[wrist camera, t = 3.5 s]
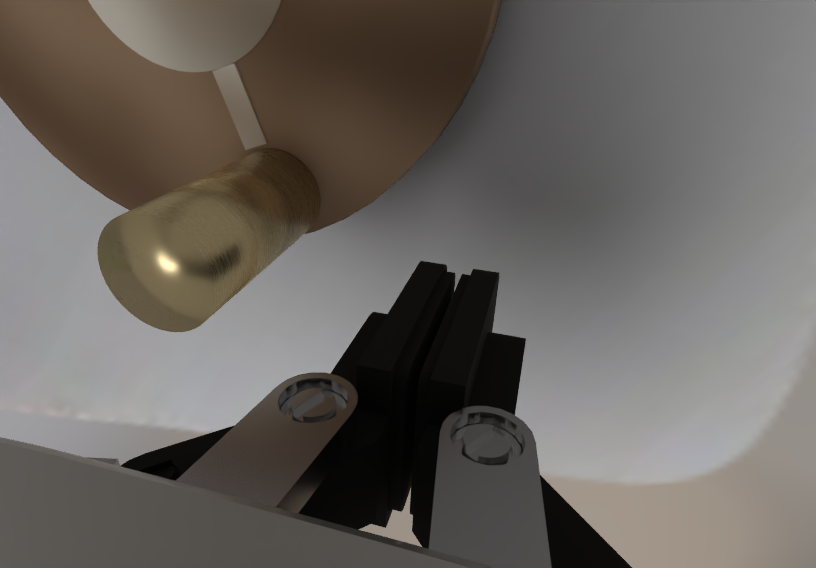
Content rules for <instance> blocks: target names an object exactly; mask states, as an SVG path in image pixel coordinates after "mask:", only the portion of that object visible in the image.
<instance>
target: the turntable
mask: <svg viewBox="0 0 816 568" xmlns="http://www.w3.org/2000/svg"><path fill="white" fill-rule="evenodd" d="M501 1H502V0H0V97H1V98H2V99H3V101H4V102H5V103H6V104H7V105H8V107H9V108H10V109H11V110H12V111H13V113H14V114H15V115H16V116H17V117H18V119H19V120H20V121H21V122H22V124H23V125H24V126H25V127H26V128H27V129H28V130H29V131H30V132H31V133H32V134H33V135H34V136H35V137H36V139H37V140H38V141H39V142H40V143H41V144H42V145H43V146H44V147H45V148H46V149H47V150H48V151H49V152H50V153H51V154H52V155H53V156H54V157H56V158H57V159H58V160H59V161H60V162H61V163H63V164H64V165H65V166H66V167H67V168H68V169H70V170H71V171H72V172H73V173H74V174H75V175H77V176H78V177H79V178H80V179H82V180H83V181H85V182H86V183H87V184H89V185H90V186H92V187H93V188H94V189H96V190H97V191H99V192H100V193H102V194H103V195H104V196H106V197H107V198H109V199H111V200H112V201H114V202H116V203H118V204H119V205H121V206H123V207H125V208H127V209H128V210H130V211H128V212H126V213H124V214H122V215H120V216H118V217H116V218H114V219H113V220H111V221H110V222H109V223H108V224H107V225H106V226H105V227H104V229H103V231H102V233H101V235H100V238H99V242H98V261H99V265H100V269H101V272H102V275H103V277H104V279H105V281H106V284H107V285H108V287H109V289H110V290H111V292H112V293H113V295H114V296H115V297H116V299H117V300H118V301H119V302H120V303H121V304H122V305H123V306H124V307H125V308H126V309H127V310H128V311H129V312H130V313H131V314H133V315H134V316H135V317H137V318H138V319H140V320H141V321H143V322H145V323H146V324H148V325H150V326H153V327H155V328H158V329H161V330H165V331H170V332H185V331H189V330H192V329H195V328H197V327H198V326H200V325H201V324H202V323H204V322H205V321H206V320H207V319H208V318H209V317H210V316H212V315H213V314H214V313H215V312H216V311H217V310H218V309H220V308H221V307H222V306H223V305H224V304H225V303H226V302H228V301H229V300H230V299H231V298H232V297H233V296H234V295H235V294H237V293H238V292H239V291H240V290H241V289H242V288H243V287H245V286H246V285H247V284H248V283H249V282H250V281H251V280H253V279H254V278H255V277H256V276H257V275H258V274H259V273H260V272H262V271H263V270H264V269H265V268H266V267H267V266H268V265H270V264H271V263H272V262H273V261H274V260H275V259H276V258H277V257H279V256H280V255H281V254H282V253H283V252H284V251H285V250H287V249H288V248H289V247H290V246H291V245H292V244H293V243H295V242H296V241H297V240H298V239H299V238H300V237H301V236H302V235H304V234H306V233H310V232H314V231H317V230H319V229H322V228H324V227H326V226H329V225H331V224H334V223H336V222H338V221H341V220H343V219H345V218H347V217H348V216H350V215H352V214H353V213H355V212H357V211H358V210H360V209H362V208H363V207H365V206H367V205H368V204H370V203H372V202H373V201H374V200H375V199H377V198H378V197H379V196H380V195H381V194H383V193H384V192H385V191H386V190H387V189H389V188H390V187H391V186H392V185H394V184H395V183H396V182H397V181H398V180H400V179H401V177H402V176H403V175H404V174H405V173H406V172H407V171H408V170H409V169H410V168H411V167H412V166H413V165H414V164H415V163H416V162H417V161H418V159H419V158H420V157H421V156H422V155H423V154H424V153H425V152H426V151H427V150H428V148H429V147H430V146H431V145H432V144H433V143H434V142H435V141H436V140H437V139H438V137H439V136H440V135H441V133H442V132H443V131H444V129H445V128H446V126H447V125H448V123H449V122H450V120H451V119H452V118H453V116H454V115H455V113H456V112H457V110H458V109H459V107H460V106H461V104H462V102H463V100H464V98H465V96H466V95H467V93H468V91H469V89H470V87H471V85H472V83H473V81H474V79H475V77H476V75H477V73H478V71H479V69H480V67H481V64H482V61H483V59H484V56H485V53H486V51H487V48H488V45H489V42H490V40H491V37H492V34H493V32H494V29H495V26H496V22H497V18H498V13H499V9H500V5H501Z"/></svg>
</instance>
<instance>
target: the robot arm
mask: <svg viewBox="0 0 816 568" xmlns="http://www.w3.org/2000/svg"><path fill="white" fill-rule="evenodd" d="M498 282H499V273H497V272H490V271H484V270H477V269H473V271H472V273H471V275H465V274H462V276H461V278H460V280H459V283H458V285H457V287H456V290H455V292H454V287H455V273H452V272H447V266H446V265H444V264H437V263H430V262H424V261H421V262H420V263H419V264H418V266H417V267H416V269H415V271H414V272H413V274H412V276H411V277H410V279H409V280H408V282H407V284H406V285H405V287H404V289H403V290H402V292H401V293H400V295H399V297H398V298H397V300H396V302H395V303H394V305H393V306H392V308H391V310H390V311H389V313H388V314H383V313H377V312H372V313H371V315H370V316H369V317H368V319H367V320H366V322H365V323H364V325H363V326H362V327H361V329H360V330H359V332H358V333H357V335H356V336H355V338H354V339H353V341H352V342H351V344H350V345H349V347H348V348H347V350H346V351H345V353H344V354H343V356H342V357H341V359H340V360H339V362H338V363H337V365H336V366H335V368H334V369H333V371H332V372H331V374H328V373H307V374H302V375H297V376H295V377H292V378H290V379H287V380H286V381H284V382H283V383H281V384H280V385H278V386H277V387H276V388H275V389H274V390H273V391H272V392H271V393H269V394H268V395H267V396H266V397H265V398H264V399H263V400H262V401H261V402H260V403H259V404H258V405H257V406H255V407H254V408H253V409H252V410H251V411H250V412H249V413H248V414H247V415H246V416H245V417H244V418H243V419H242V420H240V421H239V422H238V423H237V424H236V425H235V426H232V427H228V428H225V429H222V430H219V431H216V432H212V433H209V434H206V435H203V436H200V437H196V438H194V439H190V440H187V441H184V442H180V443H177V444H174V445H171V446H168V447H164V448H161V449H158V450H155V451H152V452H148V453H145V454H143V455H140V456H138V457H136V458H133V459H131V460H129V461H127V462H126V463H124V464H123V465H121V466H120V464H119V461H118V459H108V458H87V457H82V456H77V455H74V454H70V453H66V452H62V451H58V450H54V449H49V448H45V447H42V446H38V445H33V444H28V443H24V442H19V441H15V440H10V439H6V438H1V437H0V568H632V567H631V566H630V565H629V564H628V563H627V562H626V561H625V560H624V559H623V558H622V557H621V556H620V555H619V554H618V553H617V552H616V551H615V550H614V549H613V548H612V547H611V546H610V545H609V544H608V543H607V542H606V541H605V540H604V539H603V538H602V537H601V536H600V535H599V534H598V533H597V532H596V531H595V530H594V529H593V528H592V527H591V526H590V525H589V524H588V523H587V522H586V521H585V520H584V519H583V518H582V517H581V516H580V515H579V514H578V513H577V512H576V511H575V510H574V509H573V508H572V507H571V506H570V505H569V504H568V503H567V502H566V501H565V500H564V499H563V498H562V497H561V496H560V495H559V494H558V493H557V492H556V491H555V490H554V489H553V488H552V487H551V486H550V485H549V484H548V483H547V482H546V481H545V479H544V478H543V477H542V476H541V475H540V472H539V465H538V457H537V449H536V442H535V439H534V436H533V433H532V431H531V430H530V429H529V427H528V426H527V425H526V424H525V422H523V421H522V420H520V419H519V418H518V417H516V416H515V409H516V402H517V396H518V389H519V382H520V375H521V368H522V362H523V355H524V348H525V341H526V339H525V338H520V337H514V336H508V335H503V334H497V333H492V328H493V321H494V313H495V305H496V298H497V290H498ZM410 488H411V501H410V514H412V515H413V526H412V531H413V533H414V535H415V536H416V538H417V539H418V541H419V542H420V544H421V545H422V547H420V546H416V545H412V544H409V543H405V542H401V541H398V540H394V539H390V538H387V537H383V536H379V535H375V534H372V533H368V532H365V531H361V530H358V529H360V528H363V527H365V526H367V525H369V524H374V525H378V526H382V527H385V528H386V526H387V523H388V520H389V518H390V515H391V512H392V510H397V511H402V510H403V508H404V506H405V503H406V500H407V497H408V494H409V491H410Z"/></svg>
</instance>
